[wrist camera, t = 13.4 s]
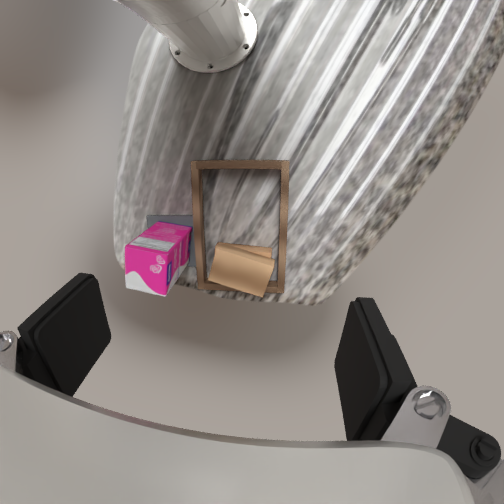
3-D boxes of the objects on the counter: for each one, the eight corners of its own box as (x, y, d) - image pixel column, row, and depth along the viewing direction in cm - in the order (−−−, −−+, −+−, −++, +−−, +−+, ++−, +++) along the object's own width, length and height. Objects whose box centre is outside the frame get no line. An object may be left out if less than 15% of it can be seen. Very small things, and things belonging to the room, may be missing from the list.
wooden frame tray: (194, 160, 39) (188, 162, 36) (288, 160, 38) (289, 161, 35) (201, 282, 46) (196, 292, 43) (283, 286, 45) (283, 296, 42)
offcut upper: (220, 242, 41) (216, 248, 38) (274, 259, 41) (274, 266, 39) (211, 272, 43) (208, 280, 40) (263, 288, 43) (262, 297, 40)
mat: (147, 215, 42) (146, 216, 42) (196, 215, 42) (196, 216, 41) (153, 263, 45) (152, 264, 45) (199, 265, 45) (199, 266, 44)
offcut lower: (218, 241, 43) (215, 247, 41) (271, 246, 43) (271, 253, 41) (217, 271, 45) (214, 278, 43) (268, 277, 45) (268, 284, 42)
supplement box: (191, 261, 44) (165, 299, 33) (156, 254, 44) (122, 288, 34) (194, 226, 42) (167, 255, 31) (157, 219, 42) (121, 245, 31)
